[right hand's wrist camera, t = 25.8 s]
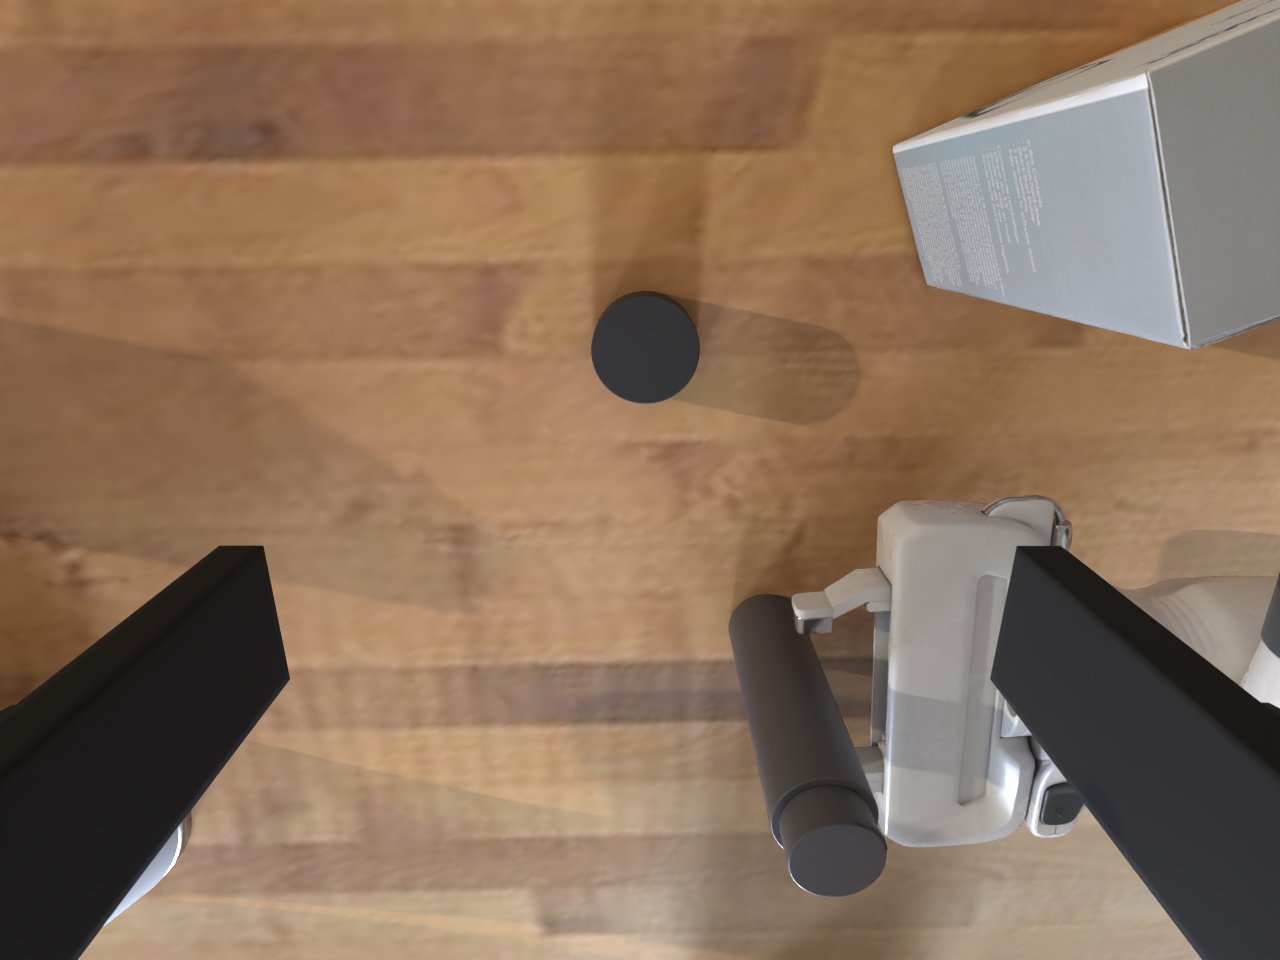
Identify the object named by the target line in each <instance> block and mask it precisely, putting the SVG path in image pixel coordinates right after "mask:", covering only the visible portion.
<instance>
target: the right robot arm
mask: <svg viewBox="0 0 1280 960" xmlns="http://www.w3.org/2000/svg"><path fill="white" fill-rule="evenodd" d="M289 680H290V676H289V671H288V666H287V661H286V656H285V651H284V646H283V641H282V636H281V632H280V627H279V622H278V617H277V612H276V607H275V602H274V597H273V592H272V587H271V582H270V577H269V572H268V567H267V562H266V557H265V552H264V547H263V546H218V547H217V548H216V549H215V550H213V551H212V552H211V553H209V554H208V555H207V556H206V557H204V558H203V559H202V560H200V561H199V562H198V563H197V564H195V565H194V566H193V567H192V568H190V569H189V570H188V571H186V572H185V573H184V574H183V575H181V576H180V577H179V578H177V579H176V580H175V581H174V582H172V583H171V584H170V585H169V586H167V587H166V588H165V589H163V590H162V591H161V592H160V593H158V594H157V595H156V596H154V597H153V598H152V599H151V600H149V601H148V602H147V603H146V604H144V605H143V606H142V607H140V608H139V609H138V610H137V611H135V612H134V613H133V614H131V615H130V616H129V617H128V618H126V619H125V620H124V621H123V622H121V623H120V624H119V625H117V626H116V627H115V628H114V629H112V630H111V631H110V632H108V633H107V634H106V635H105V636H103V637H102V638H101V639H100V640H98V641H97V642H96V643H94V644H93V645H92V646H91V647H89V648H88V649H87V650H85V651H84V652H83V653H82V654H80V655H79V656H78V657H77V658H75V659H74V660H73V661H71V662H70V663H69V664H68V665H66V666H65V667H64V668H62V669H61V670H60V671H59V672H57V673H56V674H55V675H54V676H52V677H51V678H50V679H48V680H47V681H46V682H45V683H43V684H42V685H41V686H39V687H38V688H37V689H36V690H34V691H33V692H32V693H31V694H29V695H28V696H27V697H25V698H24V699H23V700H22V701H20V702H19V703H18V704H16V705H11V706H10V707H8V708H6V709H4V710H2V711H0V960H78V959H79V957H80V956H81V955H82V953H83V952H84V951H85V949H86V948H87V947H88V945H89V944H90V943H91V941H92V940H93V939H94V937H95V936H96V935H97V934H98V932H99V931H100V930H101V928H102V927H103V926H105V925H106V924H107V923H109V922H110V921H111V920H112V919H114V918H115V917H116V916H118V915H119V914H120V913H121V912H123V911H124V910H125V909H126V908H128V907H129V906H130V905H131V904H133V903H134V902H135V901H136V900H138V899H139V898H140V897H142V896H143V895H144V894H146V893H147V892H148V891H149V890H151V889H152V888H153V887H154V886H155V885H156V884H157V883H158V882H159V881H160V880H161V879H162V878H163V877H164V876H165V875H166V874H167V872H168V871H169V870H170V869H171V867H172V866H173V864H174V863H175V862H176V860H177V859H178V857H179V856H180V855H181V853H182V852H183V850H184V849H185V846H186V844H187V842H188V839H189V836H190V831H191V809H192V808H193V807H194V805H195V804H196V803H197V801H198V800H199V799H200V797H201V796H202V795H203V793H204V792H205V791H206V789H207V788H208V787H209V785H210V784H211V783H212V782H213V780H214V779H215V778H216V776H217V775H218V774H219V772H220V771H221V770H222V768H223V767H224V766H225V764H226V763H227V762H228V760H229V759H230V758H231V756H232V755H233V754H234V752H235V751H236V750H237V748H238V747H239V746H240V745H241V743H242V742H243V741H244V739H245V738H246V737H247V735H248V734H249V733H250V731H251V730H252V729H253V727H254V726H255V725H256V723H257V722H258V721H259V719H260V718H261V717H262V715H263V714H264V713H265V711H266V710H267V709H268V708H269V706H270V705H271V704H272V702H273V701H274V700H275V698H276V697H277V696H278V694H279V693H280V692H281V690H282V689H283V688H284V686H285V685H286V684H287V682H288V681H289ZM990 680H991V681H992V682H993V684H994V685H995V686H996V688H997V689H998V690H999V692H1000V693H1001V694H1002V696H1003V697H1004V698H1005V700H1006V701H1007V702H1008V704H1009V705H1010V706H1011V708H1012V709H1013V710H1014V711H1015V713H1016V714H1017V715H1018V717H1019V718H1020V719H1021V721H1022V722H1023V723H1024V725H1025V726H1026V727H1027V729H1028V730H1029V731H1030V733H1031V734H1032V735H1033V737H1034V738H1035V739H1036V741H1037V742H1038V743H1039V745H1040V746H1041V747H1042V748H1043V750H1044V751H1045V752H1046V754H1047V755H1048V756H1049V758H1050V759H1051V760H1052V762H1053V763H1054V764H1055V766H1056V767H1057V768H1058V770H1059V771H1060V772H1061V774H1062V775H1063V776H1064V778H1065V779H1066V780H1067V782H1068V783H1069V784H1070V785H1071V787H1072V788H1073V789H1074V791H1075V792H1076V793H1077V795H1078V796H1079V797H1080V799H1081V800H1082V801H1083V803H1084V804H1085V805H1086V807H1087V808H1088V809H1089V811H1090V812H1091V813H1092V815H1093V816H1094V817H1095V819H1096V820H1097V821H1098V822H1099V824H1100V825H1101V826H1102V828H1103V829H1104V830H1105V832H1106V833H1107V834H1108V836H1109V837H1110V838H1111V840H1112V841H1113V842H1114V844H1115V845H1116V846H1117V848H1118V849H1119V850H1120V852H1121V853H1122V854H1123V856H1124V857H1125V858H1126V860H1127V861H1128V862H1129V863H1130V865H1131V866H1132V867H1133V869H1134V870H1135V871H1136V873H1137V874H1138V875H1139V877H1140V878H1141V879H1142V881H1143V882H1144V883H1145V885H1146V886H1147V887H1148V889H1149V890H1150V891H1151V893H1152V894H1153V895H1154V897H1155V898H1156V899H1157V900H1158V902H1159V903H1160V904H1161V906H1162V907H1163V908H1164V910H1165V911H1166V912H1167V914H1168V915H1169V916H1170V918H1171V919H1172V920H1173V922H1174V923H1175V924H1176V926H1177V927H1178V928H1179V930H1180V931H1181V932H1182V934H1183V935H1184V936H1185V937H1186V939H1187V940H1188V941H1189V943H1190V944H1191V945H1192V947H1193V948H1194V949H1195V951H1196V952H1197V953H1198V955H1199V956H1200V957H1201V959H1202V960H1280V708H1278V707H1276V706H1274V705H1272V704H1271V703H1269V702H1260V701H1258V700H1257V699H1256V698H1255V697H1253V696H1252V695H1251V694H1249V693H1248V692H1247V691H1246V690H1244V689H1243V688H1242V687H1241V686H1239V685H1238V684H1237V683H1235V682H1234V681H1233V680H1232V679H1230V678H1229V677H1228V676H1226V675H1225V674H1224V673H1223V672H1221V671H1220V670H1219V669H1218V668H1216V667H1215V666H1214V665H1212V664H1211V663H1210V662H1209V661H1207V660H1206V659H1205V658H1203V657H1202V656H1201V655H1200V654H1198V653H1197V652H1196V651H1195V650H1193V649H1192V648H1191V647H1189V646H1188V645H1187V644H1186V643H1184V642H1183V641H1182V640H1180V639H1179V638H1178V637H1177V636H1175V635H1174V634H1173V633H1172V632H1170V631H1169V630H1168V629H1166V628H1165V627H1164V626H1163V625H1161V624H1160V623H1159V622H1157V621H1156V620H1155V619H1154V618H1152V617H1151V616H1150V615H1149V614H1147V613H1146V612H1145V611H1143V610H1142V609H1141V608H1140V607H1138V606H1137V605H1136V604H1134V603H1133V602H1132V601H1131V600H1129V599H1128V598H1127V597H1126V596H1124V595H1123V594H1122V593H1120V592H1119V591H1118V590H1117V589H1115V588H1114V587H1113V586H1111V585H1110V584H1109V583H1108V582H1106V581H1105V580H1104V579H1103V578H1101V577H1100V576H1099V575H1097V574H1096V573H1095V572H1094V571H1092V570H1091V569H1090V568H1088V567H1087V566H1086V565H1085V564H1083V563H1082V562H1081V561H1080V560H1078V559H1077V558H1076V557H1074V556H1073V555H1072V554H1071V553H1069V552H1068V551H1067V550H1065V549H1064V548H1063V547H1062V546H1017V547H1016V552H1015V557H1014V562H1013V567H1012V572H1011V577H1010V582H1009V587H1008V592H1007V597H1006V602H1005V607H1004V612H1003V617H1002V622H1001V627H1000V632H999V636H998V641H997V646H996V651H995V656H994V661H993V666H992V671H991V676H990Z"/></svg>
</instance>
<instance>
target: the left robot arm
mask: <svg viewBox="0 0 1280 960" xmlns="http://www.w3.org/2000/svg"><path fill="white" fill-rule="evenodd" d="M1054 515H1055V519H1053V518H1054ZM1071 542H1072V525H1071V522H1070V521H1068V520H1065V516H1064V513H1063V511H1062V509H1061V507H1060V506H1059V505H1058V504H1057V503H1056V502H1055V501H1053V500H1052V499H1050V498H1048V497H1044V496H1038V495H1027V496H1013V497H1005V498H1001V499H998V500H996V501H994V502H992V503H991V504H982V503H973V502H962V501H944V500H911V501H900V502H897V503H895V504H894V505H893V506H891V507H890V508H888V509H887V510H886V511H884V512H883V513H882V514H881V515H880V516H879V518H878V524H877V555H876V568H864V569H855V570H854V571H852V572H850V573H849V574H847V575H846V576H844V577H843V578H841V579H839V580H838V581H836V582H835V583H833V584H832V585H830V586H828V587H827V588H825V589H824V591H821V592H808V593H797V594H794V595H793V596H792V621H793V624H794V626H795V630H796V631H797V632H798V633H799V634H803V635H809V634H812V633H813V632H817V633H819V634H823V633H832V618H833V619H835V618H837V617H839V616H841V615H843V614H845V613H847V612H849V611H851V610H853V609H854V608H856V607H858V606H860V605H862V604H864V605H865V607H866V609H867V610H868V611H869V612H875V614H874V644H873V673H872V703H871V733H870V747H858V748H855V751H856V753H857V756H858V758H859V761H860V763H861V766H862V768H863V771H864V773H865V776H866V778H867V781H868V783H869V786H870V788H871V790H872V793H873V795H874V798H875V800H876V803H877V806H878V811H879V819H878V823H879V825H880V827H881V830H882V832H883V833H884V835H885V836H886V837H888V838H889V839H891V840H893V841H895V842H897V843H899V844H901V845H903V846H908V847H937V846H953V845H964V844H973V843H982V842H988V841H993V840H997V839H1001V838H1003V837H1006V836H1008V835H1010V834H1011V833H1013V832H1014V831H1016V830H1017V829H1018V828H1019V827H1020V825H1021V824H1022V822H1023V821H1024V822H1025V824H1026V825H1027V826H1028V828H1029V829H1030V830H1031V832H1032V833H1033V834H1034V835H1035V836H1038V837H1043V838H1050V837H1059V836H1063V835H1065V834H1067V833H1068V832H1069V831H1070V830H1071V829H1072V828H1073V826H1074V825H1075V823H1076V822H1077V820H1078V818H1079V816H1080V815H1081V813H1082V811H1083V810H1084V808H1085V806H1086V805H1085V804H1084V803H1083V801H1082V800H1081V799H1080V797H1079V796H1078V795H1077V793H1076V792H1075V791H1074V789H1073V788H1072V787H1071V785H1070V784H1069V783H1068V782H1067V780H1066V779H1065V778H1064V776H1063V775H1062V774H1061V772H1060V771H1059V770H1058V768H1057V767H1056V766H1055V764H1054V763H1053V762H1052V760H1051V759H1050V758H1049V756H1048V755H1047V754H1046V752H1045V751H1044V750H1043V748H1042V747H1041V746H1040V745H1039V743H1038V742H1037V741H1036V739H1035V738H1034V737H1033V735H1032V734H1031V733H1030V731H1029V730H1028V729H1027V727H1026V726H1025V725H1024V723H1023V722H1022V721H1021V719H1020V718H1019V717H1018V715H1017V714H1016V713H1015V711H1014V710H1013V709H1012V708H1011V706H1010V705H1009V704H1008V702H1007V701H1006V700H1005V698H1004V697H1003V696H1002V694H1001V693H1000V692H999V690H998V689H997V688H996V686H995V685H994V684H993V682H992V681H991V680H990V676H991V671H992V666H993V661H994V656H995V651H996V646H997V641H998V636H999V632H1000V627H1001V622H1002V617H1003V612H1004V607H1005V602H1006V597H1007V592H1008V587H1009V582H1010V577H1011V572H1012V567H1013V562H1014V557H1015V552H1016V547H1017V546H1062V547H1063V548H1064V549H1065V550H1067V551H1068V549H1069V548H1070V546H1071ZM1113 587H1114V588H1115V589H1117V590H1118V591H1119V592H1120V593H1122V594H1123V595H1124V596H1126V597H1127V598H1128V599H1129V600H1131V601H1132V602H1133V603H1134V604H1136V605H1137V606H1138V607H1140V608H1141V609H1142V610H1143V611H1145V612H1146V613H1147V614H1149V615H1150V616H1151V617H1152V618H1154V619H1155V620H1156V621H1157V622H1159V623H1160V624H1161V625H1163V626H1164V627H1165V628H1166V629H1168V630H1169V631H1170V632H1172V633H1173V634H1174V635H1175V636H1177V637H1178V638H1179V639H1180V640H1182V641H1183V642H1184V643H1186V644H1187V645H1188V646H1189V647H1191V648H1192V649H1193V650H1195V651H1196V652H1197V653H1198V654H1200V655H1201V656H1202V657H1203V658H1205V659H1206V660H1207V661H1209V662H1210V663H1211V664H1212V665H1214V666H1215V667H1216V668H1218V669H1219V670H1220V671H1221V672H1223V673H1224V674H1225V675H1226V676H1228V677H1229V678H1230V679H1232V680H1233V681H1234V682H1235V683H1237V684H1238V685H1239V686H1241V687H1242V688H1243V689H1244V690H1246V691H1247V692H1248V693H1249V694H1251V695H1252V696H1253V697H1255V698H1256V699H1257V700H1258V701H1260V702H1269V703H1271V704H1272V705H1274V706H1276V707H1278V708H1280V574H1279V577H1273V576H1213V577H1195V578H1183V579H1172V580H1166V581H1162V582H1159V583H1156V584H1154V585H1151V586H1148V587H1146V588H1141V589H1124V588H1119V587H1115V586H1113Z"/></svg>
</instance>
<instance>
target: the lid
mask: <svg viewBox="0 0 1280 960" xmlns="http://www.w3.org/2000/svg"><path fill="white" fill-rule="evenodd" d="M699 351H700V348H699V339H698V335H697V332H696V329H695V327H694V325H693V323H692V321H691V319H690V317H689V315H688V314H687V312H686V311H685V310H684V309H683V307H682V306H681V305H680V304H678V303H677V302H676V301H675V300H673V299H671V298H670V297H668V296H666V295H663V294H660V293H657V292H651V291H640V292H634V293H630V294H627V295H625V296H623V297H621V298H619V299H617V300H616V301H615V302H613V303H612V304H611V305H610V306H609V307H608V308H607V309H606V310H605V312H604V313H603V314H602V316H601V318H600V319H599V322H598V324H597V326H596V329H595V332H594V335H593V339H592V346H591V354H592V361H593V365H594V368H595V370H596V373H597V375H598V377H599V378H600V380H601V381H602V383H603V384H604V385H605V386H606V387H607V388H608V389H609V390H610V391H611V392H612V393H614V394H615V395H617V396H618V397H620V398H622V399H624V400H627V401H630V402H633V403H640V404H650V403H657V402H661V401H664V400H666V399H669V398H671V397H672V396H674V395H676V394H677V393H678V392H680V391H681V390H682V389H683V388H684V387H685V386H686V385H687V384H688V382H689V381H690V379H691V378H692V376H693V374H694V372H695V370H696V367H697V364H698V360H699Z"/></svg>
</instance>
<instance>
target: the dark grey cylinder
mask: <svg viewBox="0 0 1280 960" xmlns="http://www.w3.org/2000/svg"><path fill="white" fill-rule="evenodd" d="M729 635H730V639H731V644H732V649H733V653H734V658H735V663H736V667H737V672H738V677H739V681H740V686H741V691H742V695H743V700H744V705H745V709H746V714H747V719H748V724H749V728H750V733H751V738H752V742H753V747H754V752H755V756H756V761H757V766H758V770H759V775H760V780H761V784H762V789H763V794H764V798H765V803H766V808H767V812H768V817H769V822H770V826H771V830H772V834H773V836H774V838H775V839H776V841H777V842H778V843H779V845H780V846H781V847H782V848H783V849H784V851H785V856H786V860H787V864H788V869H789V872H790V875H791V877H792V878H793V880H794V881H795V882H796V883H797V884H798V885H799V886H800V887H801V888H803V889H804V890H806V891H808V892H810V893H812V894H815V895H819V896H824V897H842V896H847V895H851V894H854V893H857V892H859V891H861V890H863V889H865V888H867V887H868V886H870V885H871V884H872V883H873V882H874V881H875V880H876V879H877V878H878V877H879V876H880V874H881V873H882V871H883V869H884V866H885V862H886V855H887V850H888V849H887V845H886V842H885V838H884V836H883V835H882V834H881V832H880V831H879V829H878V828H877V824H878V819H879V811H878V806H877V803H876V800H875V798H874V795H873V793H872V790H871V788H870V786H869V783H868V781H867V778H866V776H865V773H864V771H863V768H862V766H861V763H860V761H859V758H858V756H857V753H856V751H855V748H854V746H853V743H852V741H851V738H850V736H849V733H848V731H847V729H846V726H845V724H844V721H843V719H842V716H841V714H840V711H839V709H838V706H837V704H836V701H835V699H834V696H833V694H832V691H831V689H830V686H829V684H828V681H827V679H826V676H825V674H824V672H823V669H822V667H821V664H820V662H819V659H818V657H817V654H816V652H815V649H814V647H813V644H812V642H811V639H810V637H809V635H803V634H799V633H798V632H797V631H796V630H795V626H794V624H793V621H792V603H791V602H790V601H789V600H787V599H785V598H783V597H780V596H776V595H759V596H755V597H752V598H750V599H748V600H746V601H744V602H743V603H742V604H740V605H739V606H738V607H737V608H736V610H735V611H734V613H733V614H732V616H731V619H730V622H729Z"/></svg>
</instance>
